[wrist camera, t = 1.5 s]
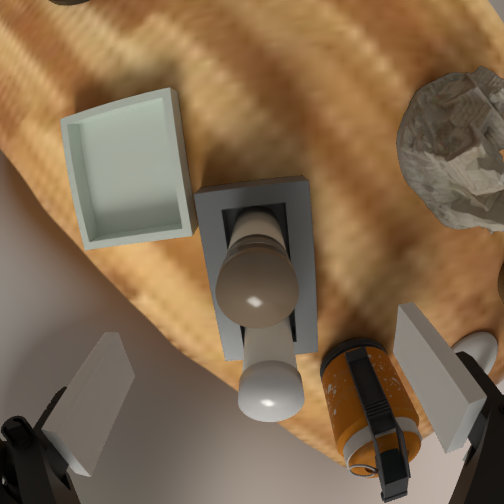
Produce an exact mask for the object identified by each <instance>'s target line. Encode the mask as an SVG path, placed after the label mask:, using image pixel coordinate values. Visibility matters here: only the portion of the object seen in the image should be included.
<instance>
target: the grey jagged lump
mask: <svg viewBox="0 0 504 504" xmlns="http://www.w3.org/2000/svg"><path fill="white" fill-rule="evenodd" d="M503 112H504V79H501V78H500V77H499V76H498V75H496V74H495V73H494V72H492V71H490V70H489V69H487V68H486V67H482V66H479V67H478V68H477V70H476V71H475V72H474V73H471V74H470V73H469V72H466V73H465V74H464V73H459V72H454V73H450V74H446V75H445V76H443V77H441V78H438V79H437V80H435V81H432V82H431V83H428V84H427V85H424V86H423V87H422V88H420V89H419V90H418V91H417V92H416V93H415V95H414V97H413V98H412V100H411V101H410V105H409V107H408V109H407V111H406V113H405V114H404V116H403V119H402V121H401V124H400V125H401V126H400V129H399V130H398V133H397V141H396V145H397V153H398V160H399V164H400V168H401V171H402V174H403V176H404V179H405V180H406V182H407V183H408V185H409V186H410V187H411V188H412V189H413V190H414V191H415V192H416V193H417V195H419V196H420V198H421V199H422V200H423V201H424V202H425V204H426V206H427V207H428V208H429V209H430V210H431V211H432V212H433V213H434V215H435V216H436V217H437V218H438V219H439V221H440V222H441V223H442V224H443V225H444V226H446V227H450V228H452V229H469V228H472V227H476V226H481V227H482V228H484V227H485V228H487V229H488V230H489V231H490V233H491V234H492V233H493V232H494V231H502V232H504V162H503V158H502V155H501V154H500V153H499V151H500V150H502V149H504V114H503Z"/></svg>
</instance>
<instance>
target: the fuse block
mask: <svg viewBox="0 0 504 504" xmlns="http://www.w3.org/2000/svg"><path fill="white" fill-rule="evenodd" d="M194 199H195V205H196V211H197V217H198V223H199V229H200V235H201V241H202V246H203V251H204V257H205V262H206V268H207V273H208V278H209V283H210V289H211V294H212V299H213V304H214V309H215V314H216V319H217V324H218V328H219V333H220V338H221V342H222V347H223V352H224V356H225V361H233V360H243V356H244V339H245V327H244V326H241V325H238V324H236V323H234V322H233V321H231V320H230V319H229V318H228V317H226V316H225V315H224V313H223V312H222V311H221V309H220V307H219V305H218V303H217V300H216V294H215V288H216V283H217V279H218V275H219V271H220V268H221V265H222V263H223V261H224V260H225V257H226V254H227V252H228V248H229V244H230V240H231V236H232V232H233V228H234V224H235V221H236V218H237V216H238V215H239V214H240V212H241V211H243V210H244V209H246V208H248V207H250V206H257V205H258V206H264V207H266V208H268V209H270V210H271V211H273V212H274V214H275V215H276V216H277V218H278V221H279V224H280V228H281V232H282V236H283V240H284V244H285V248H286V251H287V254H288V257H289V259H290V261H291V262H292V264H293V267H294V270H295V274H296V278H297V281H298V286H299V297H298V301H297V304H296V306H295V308H294V310H293V311H292V312H291V314H290V315H289V320H290V326H291V333H292V339H293V345H294V351H295V355H296V354H304V353H312V352H318V333H317V300H316V277H315V258H314V242H313V227H312V213H311V201H310V189H309V180H307V179H306V178H305V177H304V176H303V175H301V176H291V177H281V178H271V179H263V180H254V181H246V182H238V183H230V184H222V185H215V186H208V187H201V188H200V189H199V190H198V191H197V192H196V193H195V194H194Z"/></svg>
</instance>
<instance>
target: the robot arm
mask: <svg viewBox="0 0 504 504" xmlns="http://www.w3.org/2000/svg"><path fill="white" fill-rule="evenodd" d="M49 1H51V2H53V3H55V4H58V5H76V4H80V3H84V2H87V1H89V0H49ZM393 354H394V355H395V357H396V359H397V361H398V363H399V364H400V366H401V368H402V370H403V372H404V373H405V375H406V377H407V379H408V381H409V383H410V384H411V386H412V388H413V390H414V392H415V394H416V396H417V398H418V400H419V401H420V403H421V405H422V407H423V409H424V411H425V413H426V415H427V417H428V419H429V421H430V423H431V425H432V427H433V429H434V431H435V433H436V435H437V437H438V439H439V441H440V443H441V445H442V447H443V449H444V452H445V454H446V453H448V452H451V451H454V450H456V449H459V448H462V447H463V445H464V443H465V442H466V440H467V438H468V439H469V441H470V443H471V444H472V445H471V446H470V448H469V450H468V452H467V453H466V455H465V457H464V458H463V461H465V463H464V466H463V469H462V471H461V474H460V477H459V479H458V482H457V484H456V487H455V489H454V492H453V495H452V497H451V499H450V501H449V504H504V395H502V394H501V392H500V391H499V390H498V388H497V387H496V386H495V384H494V383H493V382H492V380H491V379H490V378H489V377H488V375H487V374H486V373H484V370H483V369H482V368H481V366H479V364H478V363H477V361H476V360H475V359H474V358H473V357H472V356H471V355H469V354H467V353H466V352H464V351H461V352H458V353H454V352H453V350H452V349H451V348H450V346H449V345H448V344H447V343H446V341H445V340H444V339H443V338H442V336H441V335H440V334H439V333H438V331H437V330H436V329H435V328H434V327H433V325H432V324H431V323H430V322H429V321H428V319H427V318H426V317H425V316H424V315H423V313H422V312H421V311H420V310H419V309H418V307H417V306H416V305H415V304H414V303H413V302H411V303H405V304H399V305H398V315H397V324H396V333H395V340H394V348H393ZM134 377H135V375H134V372H133V370H132V368H131V365H130V363H129V360H128V358H127V355H126V352H125V350H124V347H123V344H122V342H121V339H120V336H119V334H118V332H105V333H104V335H103V336H102V337H101V339H100V340H99V342H98V343H97V344H96V346H95V347H94V349H93V350H92V352H91V353H90V355H89V356H88V357H87V359H86V360H85V362H84V363H83V365H82V366H81V368H80V369H79V371H78V372H77V374H76V375H75V377H74V378H73V380H72V381H71V383H70V384H69V386H68V387H63V388H62V389H61V390H60V391H58V392H57V393H56V394H55V396H54V397H53V399H52V400H51V403H49V405H48V406H47V409H46V410H45V411H44V412H43V414H42V416H41V417H40V419H39V420H38V422H37V423H36V425H35V427H34V428H33V429H32V427H31V426H30V424H29V423H28V422H27V420H26V419H25V418H24V417H22V416H14V417H11V418H10V419H8V420H7V421H6V422H5V423H4V424H3V426H2V427H1V433H2V434H3V436H4V437H5V438H6V440H7V441H2V440H1V439H0V504H81V503H80V501H79V499H78V496H77V494H76V491H75V488H74V486H73V484H72V481H71V478H70V476H69V474H68V473H67V471H66V470H67V468H68V465H69V466H70V467H71V468H72V469H73V471H74V472H75V473H77V474H81V475H85V476H90V477H91V475H92V473H93V470H94V468H95V465H96V463H97V461H98V458H99V456H100V454H101V451H102V449H103V447H104V444H105V442H106V440H107V437H108V435H109V433H110V430H111V428H112V426H113V423H114V421H115V419H116V416H117V414H118V412H119V410H120V408H121V405H122V403H123V401H124V399H125V396H126V394H127V392H128V390H129V387H130V386H131V383H132V381H133V379H134ZM2 478H3V479H4V480H5V482H4V484H2Z"/></svg>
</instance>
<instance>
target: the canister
mask: <svg viewBox="0 0 504 504" xmlns="http://www.w3.org/2000/svg"><path fill="white" fill-rule="evenodd" d="M320 376H321V380H322V384H323V389H324V393H325V398H326V402H327V406H328V411H329V415H330V420H331V424H332V429H333V433H334V438H335V442H336V447H337V451H338V453H339V454H340V455H341V456H343V457H344V458H345V462H346V466H347V468H348V471H349V473H350V474H352V475H354V476H357V477H363V478H375V477H379V479H380V483H381V488H382V492H381V498H382V501H384V502H385V503H386V502H389V501H392V500H395V499H398V498H401V497H403V496H406V495H407V487H408V479H409V478H410V477H411V476H410V469H409V462H410V461H412V459H414V457H415V456H416V455H417V454H418V452H419V450H420V447H421V441H422V437H421V435H420V432H419V430H418V425H419V417H418V415H417V412H416V410H415V408H414V406H413V404H412V402H411V400H410V398H409V396H408V394H407V392H406V390H405V388H404V386H403V384H402V382H401V380H400V378H399V376H398V374H397V372H396V370H395V368H394V367H393V365H392V363H391V361H390V359H389V357H388V355H387V353H386V351H385V349H384V348H383V346H382V345H381V344H379V343H378V342H376V341H374V340H371V339H353V340H350V341H347V342H344V343H342V344H340V345H338V346H337V347H335V348H334V349H333V350H332V351H330V352H329V353H328V355H327V356H326V357H325V358H324V360H323V362H322V364H321V368H320Z"/></svg>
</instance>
